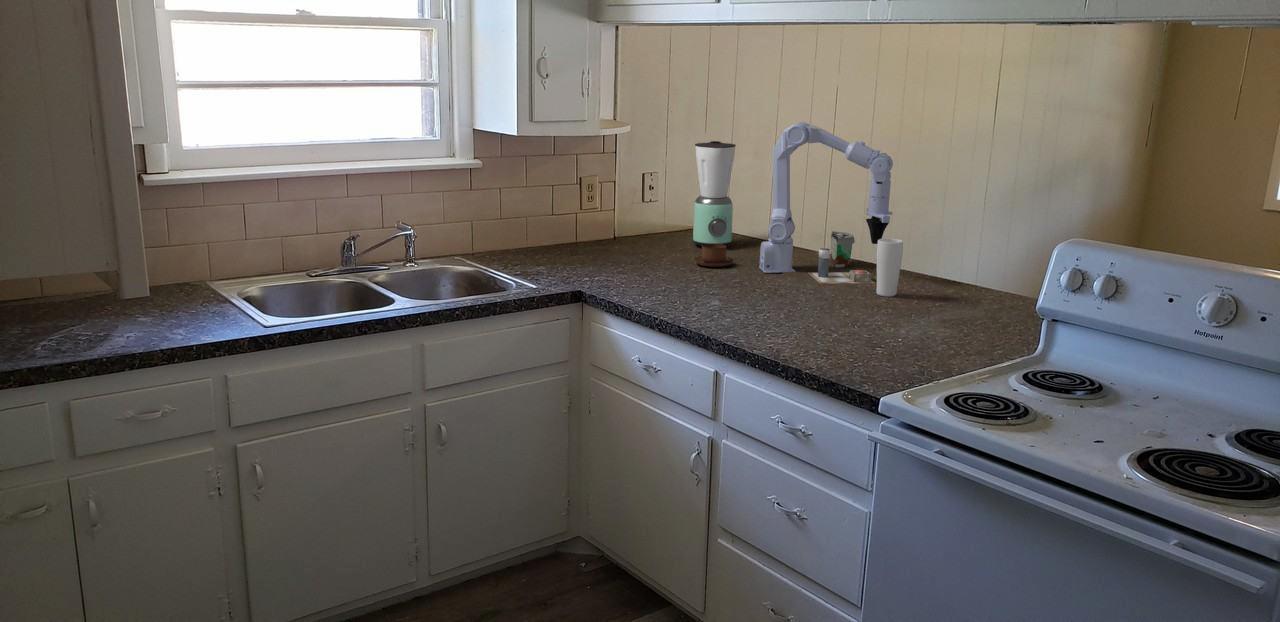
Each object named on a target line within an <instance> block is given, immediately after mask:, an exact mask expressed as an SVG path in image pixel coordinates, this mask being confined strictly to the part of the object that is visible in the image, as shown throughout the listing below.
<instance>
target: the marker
mask: <svg viewBox="0 0 1280 622" xmlns="http://www.w3.org/2000/svg"><path fill="white" fill-rule="evenodd" d="M830 256H831V248H827V247H823V248H822V247H820V248H818V267H817V273H818V277H828V274H829V273H830V272H829V270H830V269H829V268H830Z"/></svg>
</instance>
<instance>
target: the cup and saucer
mask: <svg viewBox="0 0 1280 622" xmlns="http://www.w3.org/2000/svg"><path fill="white" fill-rule="evenodd" d="M701 250H702V251H701V252H702V253H701V254H702V255H701V256H700V255H699V256H697V257H694V260H693V261H694V262H695V263H696V264H697V265H700V266H702V267H707V268H723V267H728V266H730V265H731V264H733V263H734V259H733V258H731V257H728V256H727V249H726V246H725V245H722V244H704V245H703V246H702V249H701Z"/></svg>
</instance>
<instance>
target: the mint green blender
mask: <svg viewBox="0 0 1280 622" xmlns="http://www.w3.org/2000/svg"><path fill="white" fill-rule="evenodd" d="M694 146H695V161H696V167H697V168H696V169H697V176H698V177H697V178H698V185H699V193H700V195H698V196H697V197H696V199H695V200H694V204H693V224H692V225H693V229H692V243H693V244H695V245H696V246H700V249H701V248H702V246H703V245H704V244H722V245H725V246H726V248H728V249H729V248H730V245H731V244H732V241H733V211H734V209H733V201H732V199H731V198H730V197H729V196H728V192H729V187H730V182H731V177H732V170H733V166H734V161H735V152H736V147H737V144H734V143H728V142H726V143H725V142H721V141H719V140H718V141H716V140H713V141H712V140H711V141H710V142H709V141H708V142H698V143H695V144H694Z"/></svg>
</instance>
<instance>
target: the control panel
mask: <svg viewBox="0 0 1280 622" xmlns="http://www.w3.org/2000/svg"><path fill="white" fill-rule="evenodd" d="M863 270H864V271H866V273H855V269H854V270H852V269H850V270H849V272H846V271H845V272H843V271H841V272H838V271H837V272H836V271H835V272H829V274H828V277H818V272H807V274H808V275H809V276H811V277H812V278H813V279H814V280H815V281H817V282H818V283H819V284H822V285H824V284H876V282H875V281H873V280H872V273H871V272H869V271H868V270H866V269H863Z"/></svg>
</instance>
